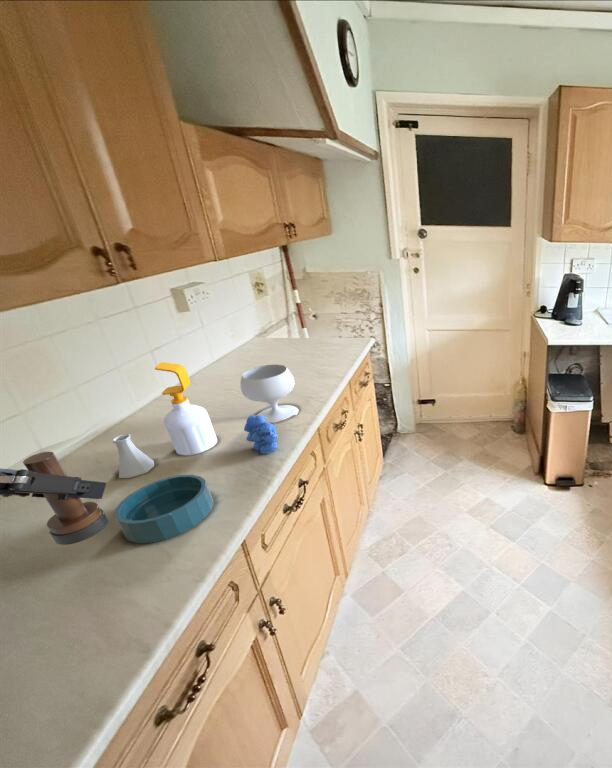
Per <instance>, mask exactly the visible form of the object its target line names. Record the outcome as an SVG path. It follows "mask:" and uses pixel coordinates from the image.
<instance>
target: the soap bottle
mask: <svg viewBox="0 0 612 768" xmlns="http://www.w3.org/2000/svg"><path fill="white" fill-rule="evenodd" d="M154 370H156V371H162V372H168V373H169V372H170V373H173V374H175V375H176V377H177V378H178V381H179V384H180V385H174V386H168V387H166V388H165V389H164V390H163V391H162V392H161V395H163V396H165V395H167V396H168V395H169V396H170V397H173V398H172V399H171V400H170V403H171V405H172V409H171V410H170V411H168V413H167V414H165V416H164V418H163V424H164V427H165V429H166V432H167V434H168V436H169V438H170V441H171V444H172V446H173V448H174V451H175V453H176V454H177V455H180V456H191V455H196V454H201V453H203V452H205V451H208V450H210V449H211V448H213V447H214V446H215V445H216V444H217V443H218V438H217V434H216V432H215V429H214V427H213V424H212V422H211V418H210V416H209V413H208V411H207V410H206V408H204V406H200V405H196V404H190V401H189V399H188V397H187V396H183V394H184V392H185V391H186V389H188V388H189V386H191V380H190V377H189V374H188V371H187V369H186V368H185V366H183V364H178V363H172V362H171V363H170V362H165V361H163V362H162V361H161V362H160V363H158V364H157V365H156V366H154Z"/></svg>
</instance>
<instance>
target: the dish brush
mask: <svg viewBox="0 0 612 768" xmlns="http://www.w3.org/2000/svg"><path fill="white" fill-rule="evenodd" d="M22 463H23V465H24V467H25V469H26V470H28V471H32V472H37V473H45V474H52V475H60V476H68V474H67V473H66V471H65V470H64V468H63V466H62V465H61V463H60V461H59V459H58V457H57V456H56V455H55V453H54V452H53V451H43V452H39V453H35V454H33V455H30V456H28V457H27V458H25V459H24V460H23V461H22ZM43 495H44V497H45V498H44V499H45V500H46V501H47V503H48V505H49V507H50V508H51V509H52V511H53V513H54V514H53V515H52V516H50V518H49V519H48V520H47V522H46V526H47V528H48V530H49V534H50V536H51V537H52V539H53V540H54V542H55V544H57V545H61V546H68V545H73V544H77V543H80V542H83V541H85V540H88V539H90V538H92V537H94V536H95V535H97V534H98V533H100V532H101V531H102V530H104V529H105V527H106V526H107V525H108V523H109V519H108V516H107V515H106V513H105V511H104V510H103V509H102V508H100V506H99V505H98V503H97V502H94V501H86V502H85V501H84V502H83V501H82V498H77V497H67V500H58V497H59V496H58V495H54V494H43Z"/></svg>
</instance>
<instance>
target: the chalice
mask: <svg viewBox="0 0 612 768" xmlns="http://www.w3.org/2000/svg"><path fill="white" fill-rule="evenodd" d="M295 385H296V381H295V378H294V375H293V374H292V372H291V371H290V369H289V368H288V367H287V366H285V365H284V364H283V365H282V364H266V365H259V366H256V367H253V368H250V369H248V370H246V371H245V372H243V373H242V375H241V378H240V391H241V393H242V395H243V396H244V397H245V398H246V399H247V400H250V401H253V402H258V403H266V404H268V405H269V406H270V407H268V408H266V409H264V410H262V411H260V412H258V414H257V415H260V416H263V417H265V418H266V420H265V422H269V423H276V422H281V421H284V420H286V419H289V418H290V417H292V416H297V415H298V414H299V410H300V409H299V408H298V407H297V406H294V405H289V404H288V405H287V404H285V405H284V404H283V405H279V401H280V400H281V399H283V398H284V397H286V396H288V395H289V394H290V393H291V392H292V391H293V390H294V388H295Z"/></svg>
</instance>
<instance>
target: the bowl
mask: <svg viewBox="0 0 612 768" xmlns="http://www.w3.org/2000/svg"><path fill="white" fill-rule="evenodd" d="M214 503H215V502H214V498H213V496H212V492H211V490H210V488H209V486H208V483H207V481H206V479H205V478H203V477H202V476H200V475H196V474H179V475H173V476H169V477H165V478H161V479H157V480H155V481H153V482H150V483H148V484H146V485H144V486H142V487H140V488H138V489H137V490H135V491H133V492H131V493H130V494H128V496H126V497H125V498H123V499H122V500H121V501H120V502H119V504H118V505H117V506H116V508H115V509H114V515H113V517H114V519H115V521H116V522H117V524H118V527H119V528H120V530H121V531H122V534H123V535H124V537H125V538H126V539H127V541H129V542H132V543H135V544H153V543H157V542H161V541H166V540H169V539H171V538H174V537H178V536H179V535H181V534H184V533H185V532H186V531H189V530H190V529H192V528H194V527H195V526H196V525H198V524H199V523H201V522H202V521H203V520H204V519H205V518H206V517H207V516H208V515H209V514H210V512H211V511H212V509H213V507H214V505H215V504H214Z"/></svg>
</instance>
